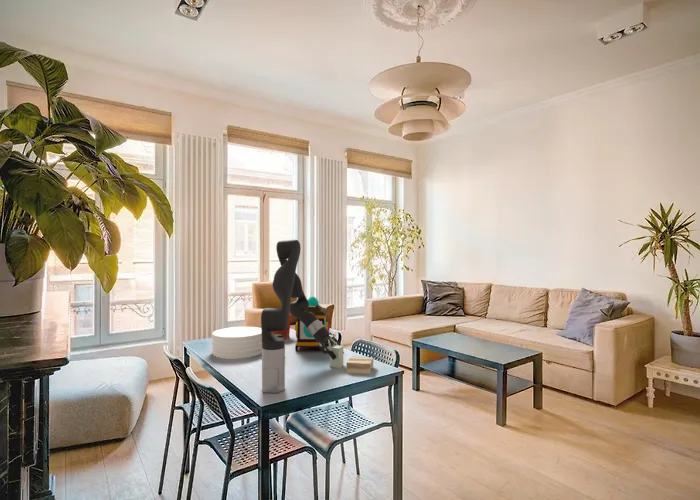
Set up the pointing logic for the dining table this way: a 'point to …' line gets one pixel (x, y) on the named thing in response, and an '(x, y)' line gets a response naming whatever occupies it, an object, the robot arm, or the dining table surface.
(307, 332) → the decorative lantern
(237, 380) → the dining table surface
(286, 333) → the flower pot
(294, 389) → the dining table surface
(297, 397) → the dining table surface
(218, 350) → the plate stack
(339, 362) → the sage pillar
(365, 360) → the oak block
